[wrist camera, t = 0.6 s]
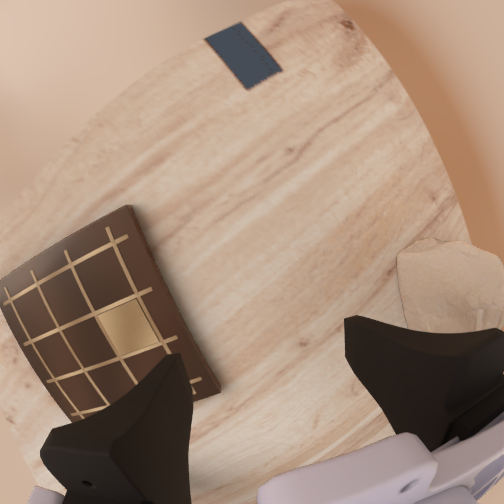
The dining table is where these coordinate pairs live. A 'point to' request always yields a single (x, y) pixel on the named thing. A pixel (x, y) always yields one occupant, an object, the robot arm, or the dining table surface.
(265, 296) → the dining table surface
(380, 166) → the dining table surface
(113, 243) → the board
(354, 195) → the dining table surface
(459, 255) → the stone
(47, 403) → the dining table surface
